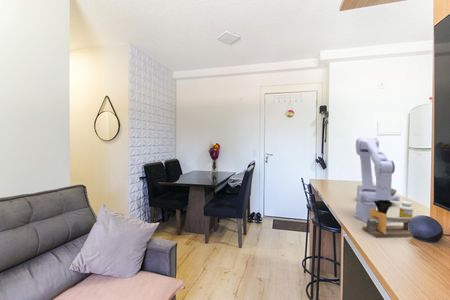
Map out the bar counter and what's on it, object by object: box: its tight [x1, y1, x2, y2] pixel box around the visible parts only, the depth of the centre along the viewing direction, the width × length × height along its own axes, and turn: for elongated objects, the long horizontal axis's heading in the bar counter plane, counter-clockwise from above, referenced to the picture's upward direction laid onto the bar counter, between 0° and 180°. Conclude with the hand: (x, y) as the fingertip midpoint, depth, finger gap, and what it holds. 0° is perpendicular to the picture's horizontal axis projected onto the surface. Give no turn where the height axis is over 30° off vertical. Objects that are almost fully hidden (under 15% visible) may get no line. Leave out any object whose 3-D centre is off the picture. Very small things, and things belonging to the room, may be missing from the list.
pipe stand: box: [361, 216, 413, 239], centre depth 103 cm, size 9×20×7 cm, turn 94°
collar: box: [370, 209, 388, 233], centre depth 102 cm, size 8×2×8 cm, turn 4°
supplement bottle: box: [398, 201, 414, 219], centre depth 119 cm, size 5×5×10 cm
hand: (382, 216), depth 102 cm, fingers closed
